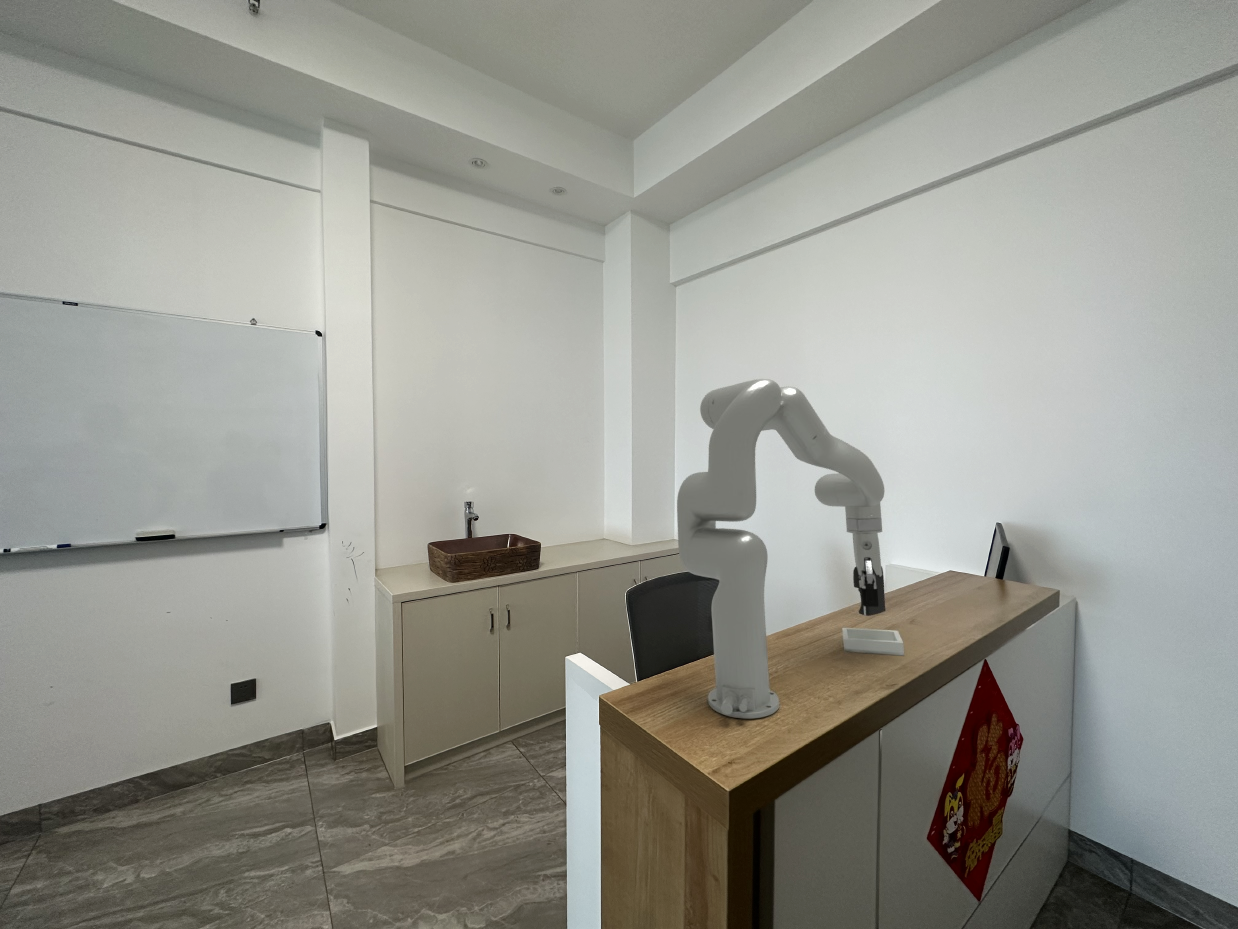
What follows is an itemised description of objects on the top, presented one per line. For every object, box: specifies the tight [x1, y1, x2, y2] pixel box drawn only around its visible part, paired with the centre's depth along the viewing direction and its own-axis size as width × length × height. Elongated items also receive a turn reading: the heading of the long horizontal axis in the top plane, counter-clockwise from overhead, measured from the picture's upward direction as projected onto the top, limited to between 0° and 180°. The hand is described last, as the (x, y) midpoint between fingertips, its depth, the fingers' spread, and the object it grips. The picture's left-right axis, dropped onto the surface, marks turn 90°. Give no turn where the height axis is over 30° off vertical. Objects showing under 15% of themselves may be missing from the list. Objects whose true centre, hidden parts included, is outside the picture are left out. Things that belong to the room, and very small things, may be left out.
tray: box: [841, 627, 905, 657], centre depth 118 cm, size 9×12×3 cm
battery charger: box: [852, 564, 887, 617], centre depth 119 cm, size 7×4×11 cm, turn 120°
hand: (869, 601), depth 118 cm, fingers closed on battery charger, 7 cm apart
